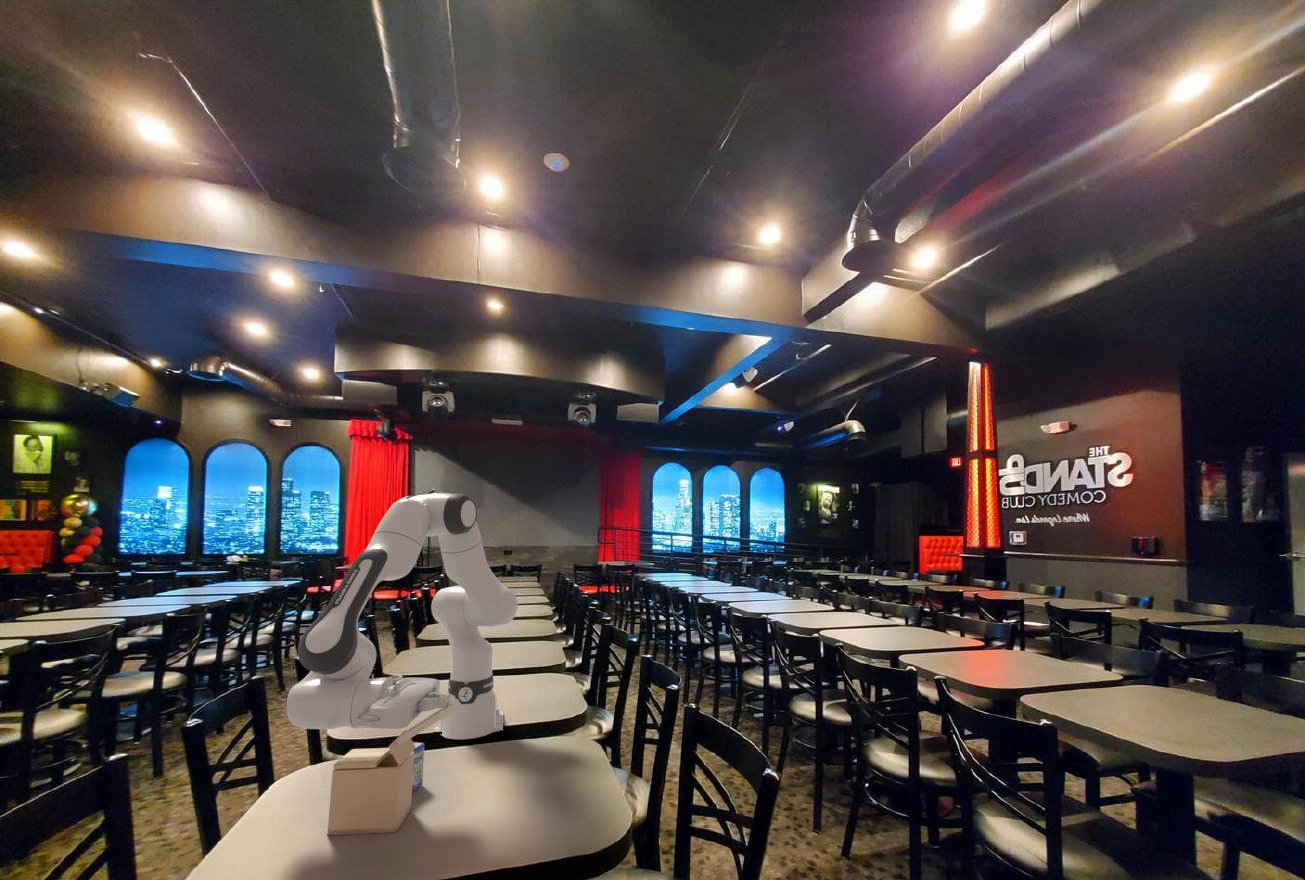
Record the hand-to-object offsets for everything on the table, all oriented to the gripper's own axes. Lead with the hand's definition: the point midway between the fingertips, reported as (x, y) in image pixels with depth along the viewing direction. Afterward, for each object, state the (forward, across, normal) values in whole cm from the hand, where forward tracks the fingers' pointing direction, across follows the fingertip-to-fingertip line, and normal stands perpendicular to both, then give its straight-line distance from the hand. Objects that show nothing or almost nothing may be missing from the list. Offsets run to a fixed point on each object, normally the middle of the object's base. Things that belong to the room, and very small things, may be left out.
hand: (448, 700), depth 109 cm
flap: (-9, 0, +8) cm, 12 cm away
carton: (-13, 0, +21) cm, 25 cm away
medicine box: (-12, +12, +22) cm, 28 cm away
